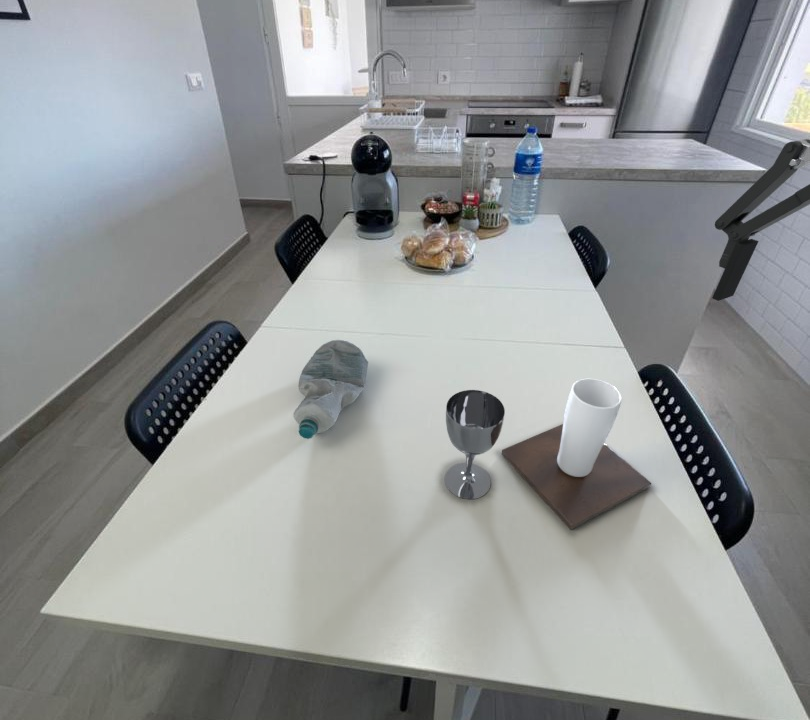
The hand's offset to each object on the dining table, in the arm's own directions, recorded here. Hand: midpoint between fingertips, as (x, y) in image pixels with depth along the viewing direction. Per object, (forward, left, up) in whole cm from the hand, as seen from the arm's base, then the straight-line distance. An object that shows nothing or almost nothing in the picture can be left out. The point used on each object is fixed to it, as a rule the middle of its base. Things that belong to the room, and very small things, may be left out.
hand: (786, 324), depth 46 cm
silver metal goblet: (+19, +24, -32) cm, 44 cm away
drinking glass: (+13, +8, -31) cm, 34 cm away
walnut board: (+13, +8, -32) cm, 35 cm away
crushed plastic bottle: (+47, +37, -32) cm, 68 cm away
